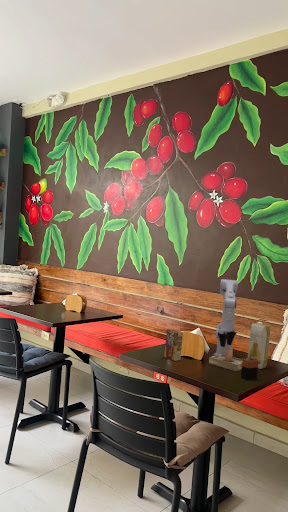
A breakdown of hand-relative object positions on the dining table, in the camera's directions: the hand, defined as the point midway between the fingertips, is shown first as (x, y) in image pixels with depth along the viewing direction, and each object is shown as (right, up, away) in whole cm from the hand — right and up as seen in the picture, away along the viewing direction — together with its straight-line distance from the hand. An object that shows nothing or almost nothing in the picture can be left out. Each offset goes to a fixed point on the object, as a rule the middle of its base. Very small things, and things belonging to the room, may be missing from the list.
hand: (225, 345), depth 224 cm
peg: (+1, -9, -2) cm, 10 cm away
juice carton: (+17, -12, +1) cm, 20 cm away
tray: (+1, -10, -2) cm, 10 cm away
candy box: (-28, -7, +2) cm, 29 cm away
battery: (+7, -11, -21) cm, 25 cm away
